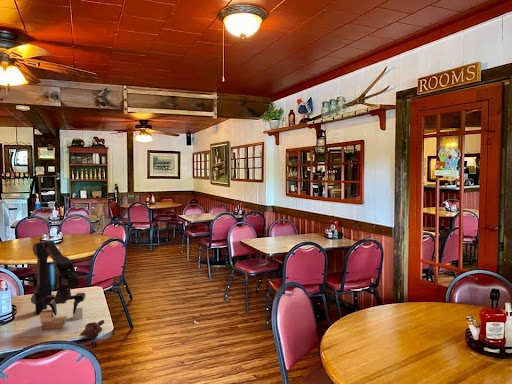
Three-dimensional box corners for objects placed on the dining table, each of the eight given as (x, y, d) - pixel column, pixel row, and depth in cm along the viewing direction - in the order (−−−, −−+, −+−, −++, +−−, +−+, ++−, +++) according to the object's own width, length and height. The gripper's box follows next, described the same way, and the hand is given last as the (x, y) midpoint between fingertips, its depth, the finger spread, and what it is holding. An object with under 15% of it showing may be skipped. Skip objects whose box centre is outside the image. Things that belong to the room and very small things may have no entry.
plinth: (47, 323, 196) (47, 317, 196) (66, 322, 198) (66, 316, 198) (41, 331, 188) (41, 324, 187) (61, 329, 189) (61, 323, 189)
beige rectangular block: (73, 316, 205) (73, 305, 204) (82, 315, 206) (82, 304, 206) (73, 319, 201) (72, 308, 200) (82, 318, 202) (82, 307, 202)
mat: (34, 319, 202) (34, 318, 202) (87, 315, 207) (87, 314, 207) (18, 337, 180) (18, 336, 180) (77, 333, 186) (77, 332, 186)
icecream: (88, 331, 173) (110, 321, 187) (75, 324, 176) (98, 315, 190) (84, 345, 174) (107, 334, 188) (72, 338, 176) (95, 328, 190)
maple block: (43, 319, 194) (43, 309, 193) (54, 318, 195) (54, 308, 194) (40, 323, 189) (39, 313, 189) (51, 322, 190) (50, 312, 190)
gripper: (38, 290, 183) (39, 322, 184) (80, 288, 187) (81, 319, 188) (45, 283, 193) (46, 313, 195) (85, 281, 197) (86, 311, 198)
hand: (65, 314), depth 193 cm, fingers open, 8 cm apart
